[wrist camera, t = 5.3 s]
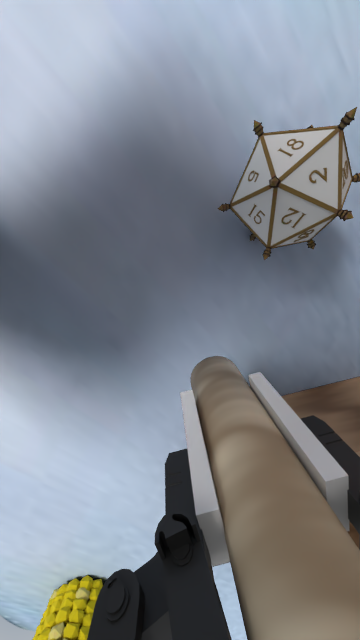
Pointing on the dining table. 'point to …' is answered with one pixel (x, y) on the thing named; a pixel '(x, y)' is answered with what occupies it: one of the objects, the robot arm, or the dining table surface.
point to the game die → (294, 184)
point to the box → (333, 414)
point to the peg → (274, 519)
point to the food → (70, 611)
